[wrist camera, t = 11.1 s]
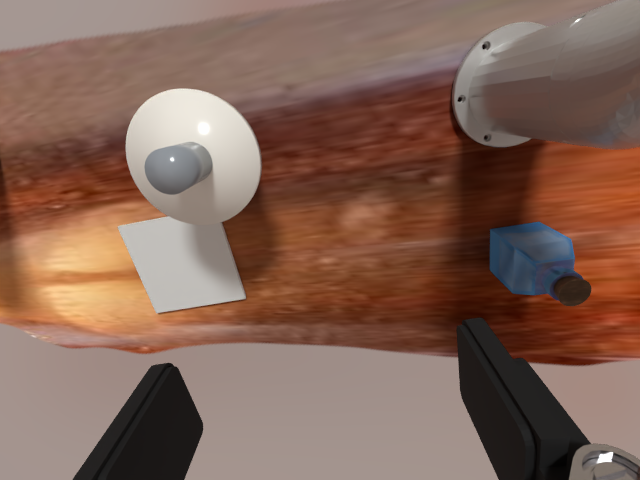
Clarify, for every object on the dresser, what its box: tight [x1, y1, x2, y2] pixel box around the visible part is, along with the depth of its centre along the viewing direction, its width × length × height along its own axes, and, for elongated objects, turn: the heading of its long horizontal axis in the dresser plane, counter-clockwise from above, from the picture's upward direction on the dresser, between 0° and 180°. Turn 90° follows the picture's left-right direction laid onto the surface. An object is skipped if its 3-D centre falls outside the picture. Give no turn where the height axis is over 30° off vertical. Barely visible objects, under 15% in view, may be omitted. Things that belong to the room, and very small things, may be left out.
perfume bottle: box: [490, 222, 591, 306], centre depth 39 cm, size 6×6×12 cm
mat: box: [118, 216, 246, 313], centre depth 47 cm, size 14×14×1 cm
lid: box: [126, 89, 262, 225], centre depth 28 cm, size 12×12×6 cm
